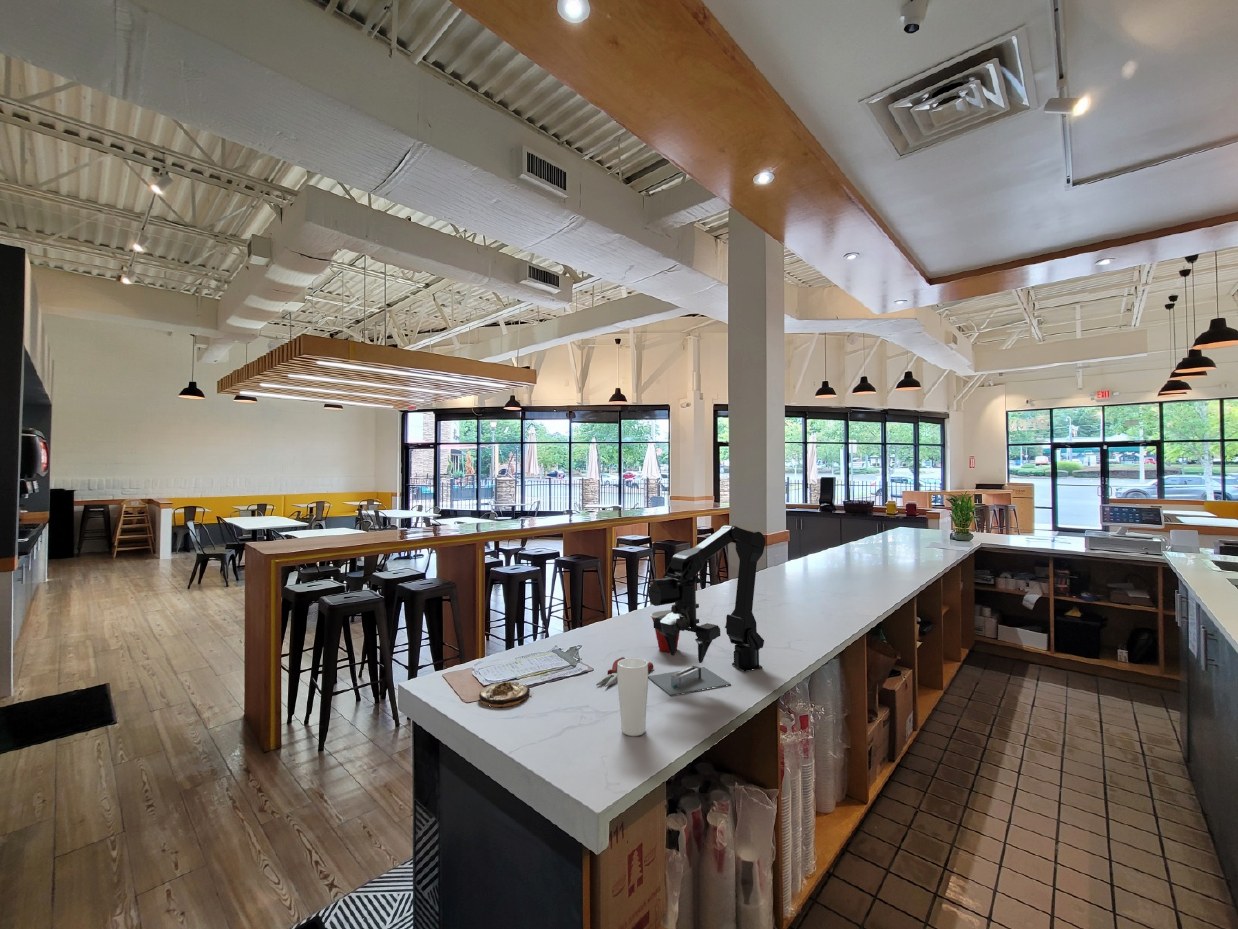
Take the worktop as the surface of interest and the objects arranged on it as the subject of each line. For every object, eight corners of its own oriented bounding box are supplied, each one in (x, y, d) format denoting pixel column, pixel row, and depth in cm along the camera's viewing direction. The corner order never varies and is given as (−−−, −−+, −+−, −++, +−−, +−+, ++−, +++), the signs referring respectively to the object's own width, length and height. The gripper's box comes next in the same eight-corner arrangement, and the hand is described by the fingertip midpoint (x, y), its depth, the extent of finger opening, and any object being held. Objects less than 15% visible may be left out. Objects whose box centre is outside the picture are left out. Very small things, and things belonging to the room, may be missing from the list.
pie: (508, 716, 128) (508, 699, 128) (462, 705, 135) (461, 688, 135) (546, 694, 141) (545, 678, 141) (501, 684, 148) (501, 669, 148)
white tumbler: (616, 725, 121) (615, 658, 122) (646, 723, 122) (645, 656, 122) (619, 740, 115) (618, 668, 115) (651, 738, 115) (649, 667, 116)
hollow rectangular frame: (693, 665, 150) (668, 676, 142) (700, 667, 148) (676, 678, 140) (693, 675, 150) (669, 687, 142) (701, 678, 148) (677, 689, 140)
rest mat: (704, 668, 157) (704, 667, 157) (730, 685, 144) (730, 683, 144) (647, 677, 150) (647, 676, 150) (670, 696, 137) (670, 694, 137)
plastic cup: (661, 642, 182) (661, 606, 182) (690, 647, 176) (689, 610, 176) (644, 651, 173) (643, 613, 174) (673, 657, 167) (672, 618, 167)
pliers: (583, 686, 146) (583, 676, 146) (621, 664, 163) (621, 655, 163) (619, 694, 140) (619, 684, 140) (655, 670, 157) (655, 661, 157)
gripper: (639, 601, 147) (640, 659, 146) (696, 612, 134) (697, 675, 134) (665, 594, 155) (666, 649, 154) (721, 603, 142) (722, 663, 142)
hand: (686, 658), depth 146 cm, fingers open, 9 cm apart
